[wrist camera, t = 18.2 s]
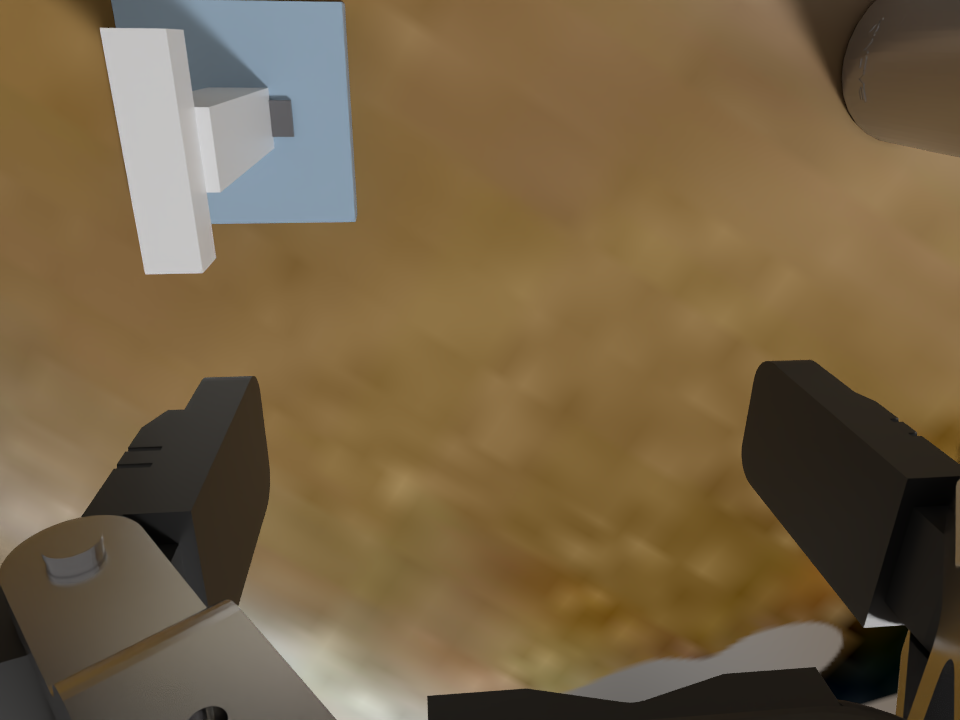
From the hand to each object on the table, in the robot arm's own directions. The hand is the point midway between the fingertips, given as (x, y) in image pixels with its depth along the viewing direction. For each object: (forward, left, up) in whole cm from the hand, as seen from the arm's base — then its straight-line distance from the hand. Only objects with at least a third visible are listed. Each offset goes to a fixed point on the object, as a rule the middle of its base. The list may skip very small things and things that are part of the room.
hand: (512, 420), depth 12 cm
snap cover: (+10, -2, -32) cm, 34 cm away
